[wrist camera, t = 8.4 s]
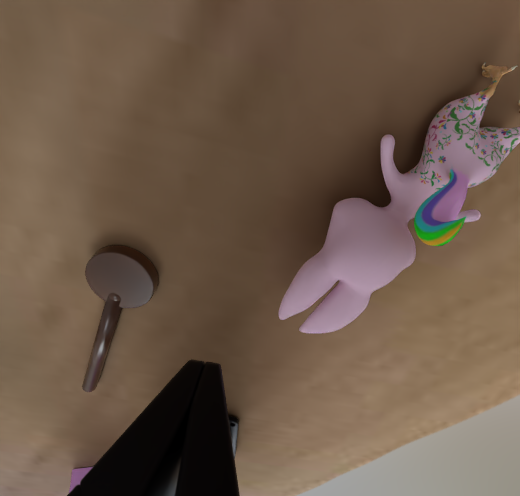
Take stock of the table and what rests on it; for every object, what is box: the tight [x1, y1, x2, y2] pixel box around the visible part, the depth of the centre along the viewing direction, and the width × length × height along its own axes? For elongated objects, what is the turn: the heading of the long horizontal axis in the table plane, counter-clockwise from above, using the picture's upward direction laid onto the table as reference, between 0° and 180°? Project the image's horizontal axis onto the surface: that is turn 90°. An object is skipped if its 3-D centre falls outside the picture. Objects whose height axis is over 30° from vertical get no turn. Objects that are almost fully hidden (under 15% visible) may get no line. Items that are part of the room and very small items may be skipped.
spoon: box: [82, 245, 158, 392], centre depth 24 cm, size 15×4×1 cm, turn 155°
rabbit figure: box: [279, 62, 520, 333], centre depth 15 cm, size 6×6×15 cm
